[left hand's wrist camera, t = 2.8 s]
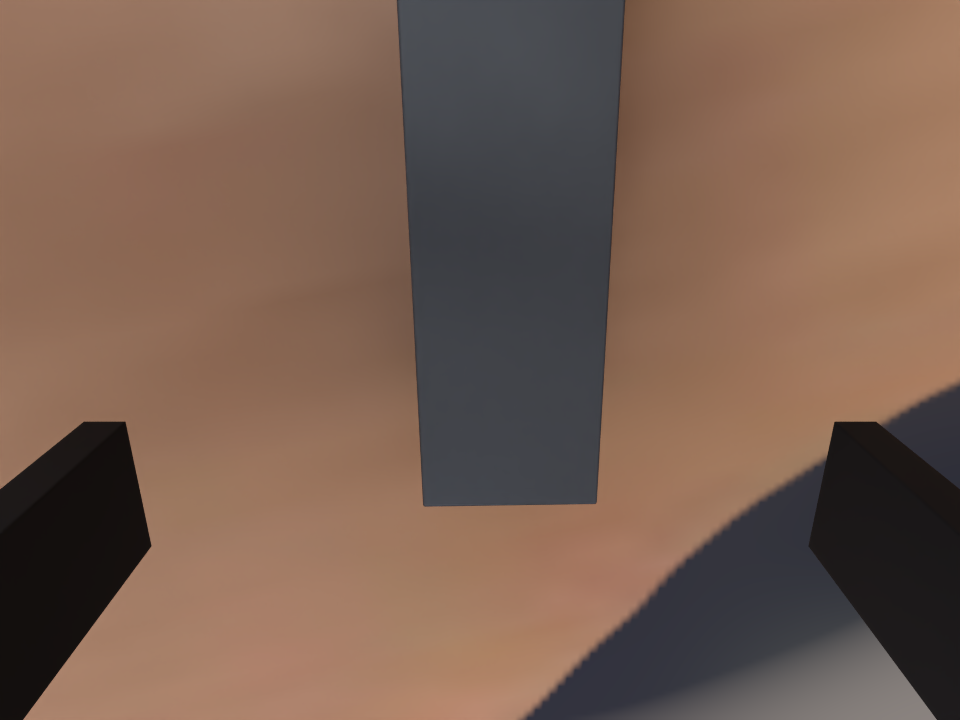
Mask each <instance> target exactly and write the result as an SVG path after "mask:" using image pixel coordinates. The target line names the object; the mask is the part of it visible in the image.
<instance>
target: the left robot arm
mask: <svg viewBox="0 0 960 720" xmlns="http://www.w3.org/2000/svg"><path fill="white" fill-rule="evenodd" d="M150 547H151V542H150V537H149V532H148V527H147V523H146V518H145V513H144V508H143V503H142V499H141V494H140V489H139V484H138V480H137V475H136V470H135V465H134V461H133V456H132V451H131V446H130V441H129V437H128V432H127V427H126V422H83V423H82V424H81V425H79V426H78V427H77V428H76V429H74V430H73V431H72V432H71V433H69V434H68V435H67V436H66V437H64V438H63V439H62V440H61V441H60V442H58V443H57V444H56V445H55V446H53V447H52V448H51V449H50V450H48V451H47V452H46V453H45V454H43V455H42V456H41V457H40V458H38V459H37V460H36V461H35V462H34V463H32V464H31V465H30V466H29V467H27V468H26V469H25V470H24V471H22V472H21V473H20V474H19V475H17V476H16V477H15V478H14V479H12V480H11V481H10V482H9V483H8V484H6V485H5V486H4V487H3V488H1V489H0V720H23V719H24V718H25V716H26V715H27V714H28V712H29V711H30V710H31V708H32V707H33V706H34V704H35V703H36V701H37V700H38V699H39V697H40V696H41V695H42V693H43V692H44V691H45V689H46V688H47V687H48V685H49V684H50V683H51V681H52V680H53V678H54V677H55V676H56V674H57V673H58V672H59V670H60V669H61V668H62V666H63V665H64V664H65V662H66V661H67V660H68V658H69V657H70V656H71V654H72V653H73V651H74V650H75V649H76V647H77V646H78V645H79V643H80V642H81V641H82V639H83V638H84V637H85V635H86V634H87V633H88V631H89V630H90V628H91V627H92V626H93V624H94V623H95V622H96V620H97V619H98V618H99V616H100V615H101V614H102V612H103V611H104V610H105V608H106V607H107V605H108V604H109V603H110V601H111V600H112V599H113V597H114V596H115V595H116V593H117V592H118V591H119V589H120V588H121V587H122V585H123V584H124V583H125V581H126V580H127V578H128V577H129V576H130V574H131V573H132V572H133V570H134V569H135V568H136V566H137V565H138V564H139V562H140V561H141V560H142V558H143V557H144V555H145V554H146V553H147V551H148V550H149V549H150ZM809 547H810V549H811V550H812V551H813V553H814V554H815V555H816V557H817V558H818V560H819V561H820V562H821V563H822V565H823V566H824V568H825V569H826V570H827V572H828V573H829V574H830V576H831V577H832V578H833V580H834V581H835V583H836V584H837V585H838V586H839V588H840V589H841V591H842V592H843V593H844V595H845V596H846V597H847V599H848V600H849V601H850V603H851V604H852V605H853V607H854V608H855V610H856V611H857V612H858V614H859V615H860V616H861V618H862V619H863V620H864V622H865V623H866V624H867V626H868V627H869V628H870V630H871V631H872V633H873V634H874V635H875V637H876V638H877V639H878V641H879V642H880V643H881V645H882V646H883V647H884V649H885V650H886V651H887V653H888V654H889V656H890V657H891V658H892V660H893V661H894V662H895V664H896V665H897V666H898V668H899V669H900V670H901V672H902V673H903V674H904V676H905V677H906V678H907V680H908V681H909V683H910V684H911V685H912V687H913V688H914V689H915V691H916V692H917V693H918V695H919V696H920V697H921V699H922V700H923V701H924V703H925V704H926V706H927V707H928V708H929V710H930V711H931V712H932V714H933V715H934V716H935V718H936V719H937V720H960V489H959V488H957V487H956V486H955V485H954V484H952V483H951V482H950V481H949V480H948V479H946V478H945V477H944V476H942V475H941V474H940V473H939V472H938V471H936V470H935V469H934V468H933V467H931V466H930V465H929V464H928V463H926V462H925V461H924V460H923V459H922V458H920V457H919V456H918V455H917V454H915V453H914V452H913V451H912V450H910V449H909V448H908V447H907V446H905V445H904V444H903V443H902V442H900V441H899V440H898V439H897V438H895V437H894V436H893V435H892V434H891V433H889V432H888V431H887V430H886V429H884V428H883V427H882V426H881V425H879V424H878V423H877V422H834V427H833V432H832V437H831V441H830V446H829V451H828V456H827V461H826V465H825V470H824V475H823V480H822V484H821V490H820V494H819V499H818V503H817V508H816V513H815V518H814V523H813V527H812V532H811V537H810V542H809Z"/></svg>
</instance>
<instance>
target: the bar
mask: <svg viewBox="0 0 960 720" xmlns="http://www.w3.org/2000/svg"><path fill="white" fill-rule="evenodd" d="M397 11H398V30H399V49H400V69H401V88H402V107H403V126H404V145H405V165H406V184H407V203H408V222H409V241H410V260H411V280H412V299H413V318H414V337H415V356H416V376H417V395H418V414H419V433H420V452H421V472H422V491H423V505H424V506H489V505H554V504H596V502H597V487H598V470H599V452H600V435H601V417H602V399H603V382H604V364H605V347H606V329H607V311H608V294H609V276H610V258H611V241H612V223H613V206H614V188H615V170H616V153H617V135H618V118H619V100H620V82H621V65H622V47H623V29H624V12H625V0H397Z"/></svg>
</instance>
